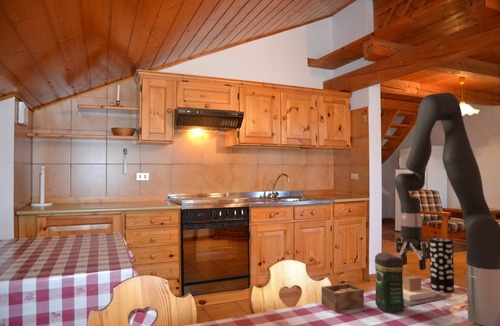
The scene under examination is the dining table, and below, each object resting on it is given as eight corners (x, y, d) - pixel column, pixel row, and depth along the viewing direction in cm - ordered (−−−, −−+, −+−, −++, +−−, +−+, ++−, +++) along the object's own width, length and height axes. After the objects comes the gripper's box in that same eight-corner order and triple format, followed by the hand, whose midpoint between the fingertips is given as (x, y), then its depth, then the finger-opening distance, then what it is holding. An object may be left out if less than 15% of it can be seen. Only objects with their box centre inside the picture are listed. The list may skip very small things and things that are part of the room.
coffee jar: (408, 313, 112) (407, 257, 113) (385, 314, 111) (384, 257, 112) (393, 303, 121) (392, 250, 122) (372, 303, 121) (371, 251, 122)
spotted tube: (454, 294, 131) (452, 242, 132) (429, 290, 135) (428, 240, 136) (454, 288, 138) (453, 239, 139) (431, 285, 142) (430, 237, 143)
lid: (414, 288, 136) (414, 272, 136) (435, 296, 127) (435, 278, 128) (389, 293, 131) (389, 276, 131) (409, 301, 122) (409, 282, 123)
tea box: (348, 299, 125) (348, 282, 125) (363, 306, 118) (363, 289, 118) (321, 303, 120) (321, 286, 121) (335, 312, 113) (335, 293, 113)
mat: (412, 287, 139) (412, 286, 139) (445, 298, 126) (445, 297, 126) (378, 292, 132) (378, 291, 133) (410, 305, 119) (410, 304, 119)
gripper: (389, 223, 136) (391, 264, 135) (419, 227, 123) (421, 272, 122) (404, 222, 139) (406, 262, 138) (434, 226, 125) (436, 270, 124)
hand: (413, 267), depth 130 cm, fingers open, 8 cm apart
